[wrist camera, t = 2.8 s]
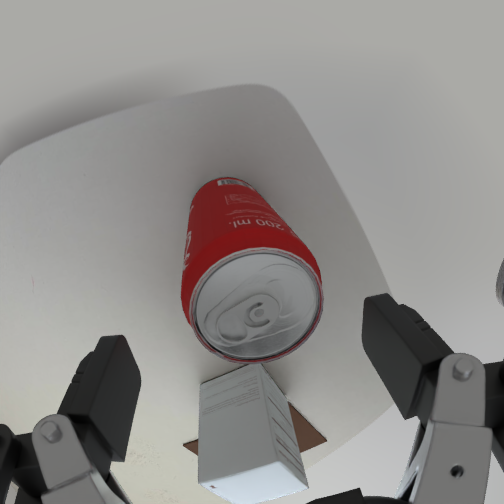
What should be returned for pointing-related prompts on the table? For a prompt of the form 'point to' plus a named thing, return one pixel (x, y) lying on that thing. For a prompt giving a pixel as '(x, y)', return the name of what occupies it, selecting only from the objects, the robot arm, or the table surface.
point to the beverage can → (247, 276)
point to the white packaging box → (247, 439)
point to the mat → (302, 428)
